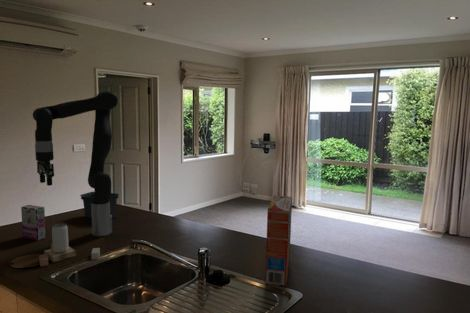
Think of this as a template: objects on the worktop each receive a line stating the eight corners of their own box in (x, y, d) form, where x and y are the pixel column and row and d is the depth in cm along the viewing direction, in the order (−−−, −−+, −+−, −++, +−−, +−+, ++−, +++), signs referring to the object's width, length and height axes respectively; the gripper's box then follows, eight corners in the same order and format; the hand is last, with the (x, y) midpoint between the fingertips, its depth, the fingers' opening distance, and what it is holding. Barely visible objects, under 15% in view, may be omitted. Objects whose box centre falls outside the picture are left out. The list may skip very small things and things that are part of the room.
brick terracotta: (39, 261, 158) (39, 255, 158) (47, 260, 160) (46, 253, 159) (40, 267, 153) (40, 260, 153) (48, 265, 155) (48, 258, 154)
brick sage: (63, 246, 176) (62, 240, 175) (66, 247, 174) (66, 241, 174) (51, 250, 171) (50, 244, 170) (54, 251, 169) (54, 245, 169)
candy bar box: (46, 237, 186) (45, 206, 184) (38, 241, 181) (36, 209, 179) (31, 234, 190) (29, 204, 188) (22, 237, 185) (20, 206, 183)
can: (62, 253, 160) (61, 227, 159) (49, 252, 162) (48, 226, 160) (71, 248, 167) (70, 223, 165) (59, 246, 168) (58, 221, 166)
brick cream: (91, 259, 161) (98, 259, 162) (91, 253, 161) (98, 252, 162) (93, 254, 167) (100, 253, 168) (92, 248, 166) (99, 247, 167)
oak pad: (66, 249, 171) (66, 244, 171) (76, 255, 164) (75, 250, 164) (44, 255, 164) (44, 250, 163) (53, 262, 157) (52, 257, 157)
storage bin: (78, 218, 218) (77, 195, 216) (96, 211, 233) (95, 189, 231) (107, 222, 211) (106, 198, 209) (123, 215, 226) (123, 193, 224)
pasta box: (285, 286, 140) (288, 211, 136) (265, 283, 142) (267, 209, 138) (289, 261, 163) (292, 196, 158) (271, 260, 164) (273, 195, 160)
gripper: (58, 151, 169) (60, 185, 171) (46, 148, 179) (48, 180, 181) (41, 152, 164) (43, 187, 166) (30, 149, 173) (32, 182, 176)
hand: (46, 183), depth 173 cm, fingers open, 8 cm apart
